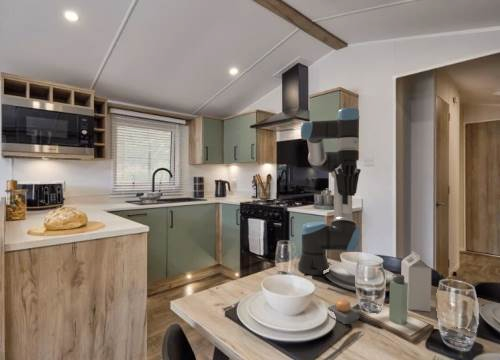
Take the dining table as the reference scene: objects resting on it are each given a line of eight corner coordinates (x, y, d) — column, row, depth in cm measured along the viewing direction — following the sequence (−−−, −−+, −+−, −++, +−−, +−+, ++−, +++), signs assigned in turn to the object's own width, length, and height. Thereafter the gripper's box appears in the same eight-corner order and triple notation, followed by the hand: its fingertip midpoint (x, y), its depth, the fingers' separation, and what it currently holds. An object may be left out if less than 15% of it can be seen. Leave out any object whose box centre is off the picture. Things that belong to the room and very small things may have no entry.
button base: (327, 315, 88) (327, 307, 87) (341, 309, 91) (341, 302, 91) (344, 325, 82) (345, 317, 82) (358, 318, 85) (359, 311, 85)
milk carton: (421, 302, 97) (422, 251, 96) (430, 312, 90) (431, 257, 89) (400, 300, 98) (401, 249, 98) (407, 310, 91) (408, 255, 91)
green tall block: (389, 319, 83) (389, 275, 83) (395, 316, 85) (396, 272, 85) (400, 324, 80) (401, 279, 80) (407, 321, 82) (407, 276, 81)
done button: (333, 307, 87) (333, 301, 87) (341, 303, 89) (341, 298, 89) (344, 313, 83) (344, 307, 83) (353, 309, 86) (353, 303, 86)
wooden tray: (354, 313, 88) (354, 308, 88) (377, 303, 96) (377, 298, 95) (411, 343, 73) (411, 336, 73) (433, 328, 80) (433, 322, 80)
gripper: (345, 148, 92) (344, 215, 92) (367, 150, 99) (366, 213, 99) (328, 149, 98) (327, 212, 99) (350, 151, 105) (349, 210, 106)
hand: (347, 212), depth 99 cm, fingers closed
